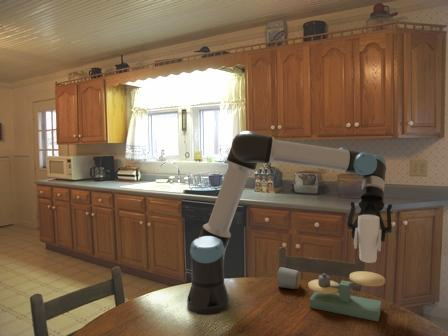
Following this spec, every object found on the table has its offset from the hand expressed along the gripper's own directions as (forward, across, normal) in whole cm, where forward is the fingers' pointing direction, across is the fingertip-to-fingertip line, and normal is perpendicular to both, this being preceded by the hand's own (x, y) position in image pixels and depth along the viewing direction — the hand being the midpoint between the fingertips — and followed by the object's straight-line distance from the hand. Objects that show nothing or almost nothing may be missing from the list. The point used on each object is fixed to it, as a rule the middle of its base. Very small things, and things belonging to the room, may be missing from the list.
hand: (366, 247), depth 115 cm
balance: (+15, +7, -17) cm, 24 cm away
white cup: (+1, 0, -6) cm, 7 cm away
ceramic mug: (+8, +30, -25) cm, 40 cm away
